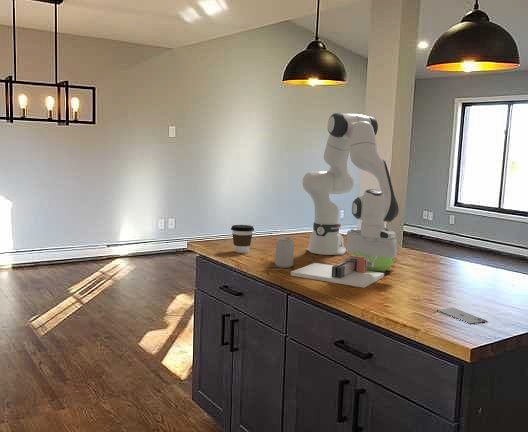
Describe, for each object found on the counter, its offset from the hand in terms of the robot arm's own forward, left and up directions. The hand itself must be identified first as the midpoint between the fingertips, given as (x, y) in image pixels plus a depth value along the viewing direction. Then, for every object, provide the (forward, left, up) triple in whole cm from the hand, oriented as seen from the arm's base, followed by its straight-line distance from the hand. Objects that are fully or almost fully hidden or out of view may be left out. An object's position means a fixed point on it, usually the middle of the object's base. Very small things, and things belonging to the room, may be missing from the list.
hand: (370, 266), depth 222 cm
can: (+6, -35, -4) cm, 36 cm away
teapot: (-12, -4, -4) cm, 14 cm away
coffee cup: (-10, -66, -4) cm, 67 cm away
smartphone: (+33, +42, -5) cm, 54 cm away
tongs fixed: (+8, -7, -3) cm, 11 cm away
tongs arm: (+10, -8, -2) cm, 13 cm away
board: (+8, -10, -4) cm, 13 cm away
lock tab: (0, -5, -2) cm, 6 cm away
